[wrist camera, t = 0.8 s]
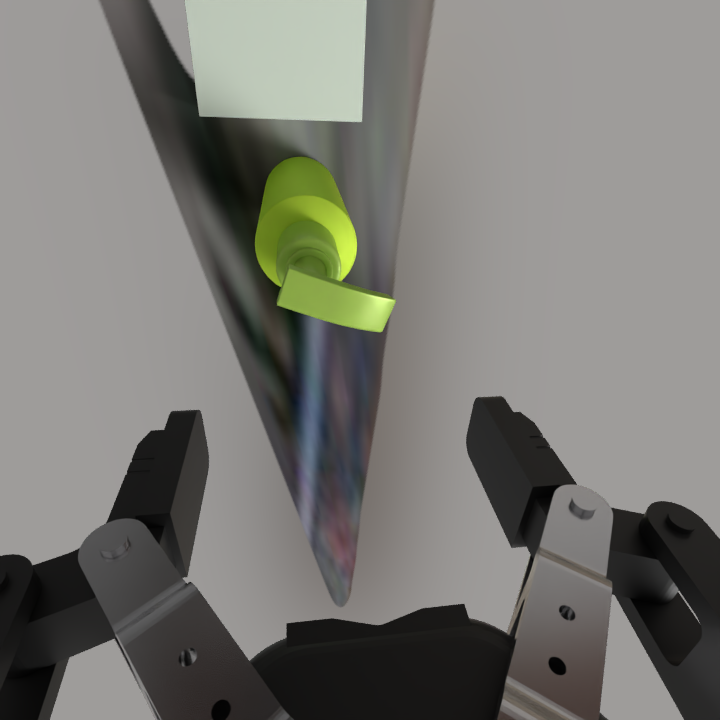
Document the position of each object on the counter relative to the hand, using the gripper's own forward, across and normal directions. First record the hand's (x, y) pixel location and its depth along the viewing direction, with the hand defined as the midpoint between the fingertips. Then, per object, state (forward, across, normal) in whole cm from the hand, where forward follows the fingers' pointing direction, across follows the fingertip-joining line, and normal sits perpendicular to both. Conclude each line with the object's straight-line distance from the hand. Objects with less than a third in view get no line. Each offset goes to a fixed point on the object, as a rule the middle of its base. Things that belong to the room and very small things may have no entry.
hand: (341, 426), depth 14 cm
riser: (+29, +2, -11) cm, 31 cm away
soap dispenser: (+29, 0, 0) cm, 29 cm away
